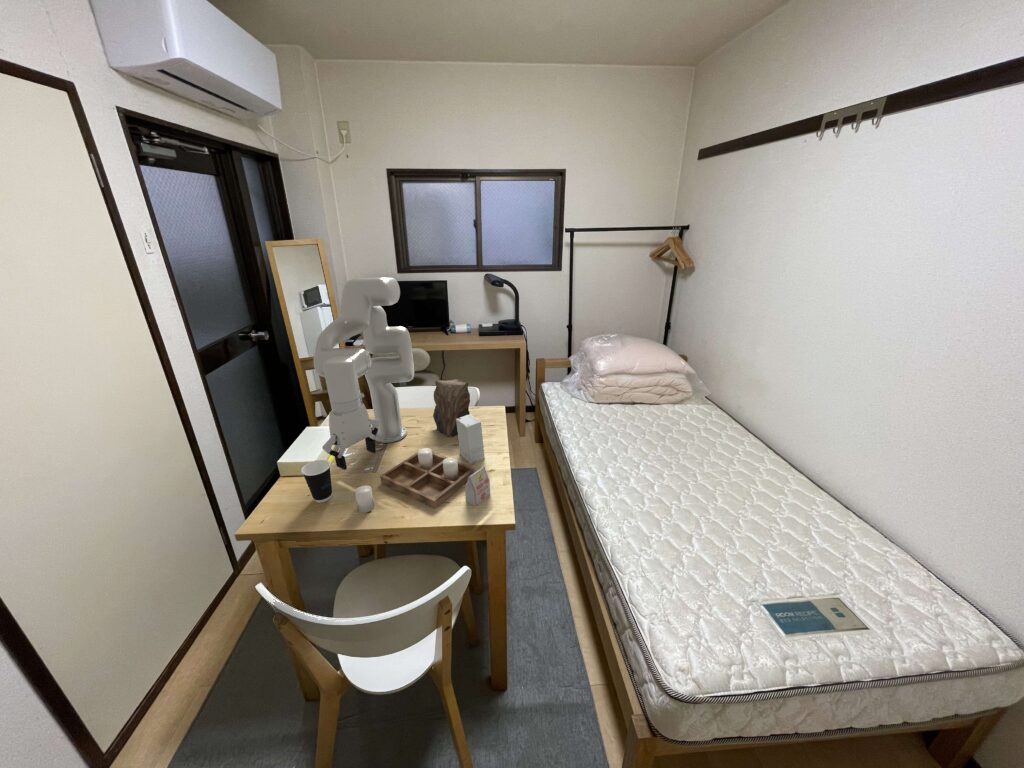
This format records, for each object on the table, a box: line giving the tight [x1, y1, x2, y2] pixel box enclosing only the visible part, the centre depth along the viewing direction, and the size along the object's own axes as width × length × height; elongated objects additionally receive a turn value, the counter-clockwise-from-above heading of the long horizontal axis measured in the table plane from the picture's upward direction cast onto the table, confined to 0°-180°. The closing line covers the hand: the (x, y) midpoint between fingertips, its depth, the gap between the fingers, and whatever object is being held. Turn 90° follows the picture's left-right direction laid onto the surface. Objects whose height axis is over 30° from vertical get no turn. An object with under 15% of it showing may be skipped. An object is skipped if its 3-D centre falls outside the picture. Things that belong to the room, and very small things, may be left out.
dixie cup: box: [300, 459, 333, 503], centre depth 122 cm, size 8×8×11 cm
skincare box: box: [456, 413, 486, 464], centre depth 140 cm, size 8×6×15 cm
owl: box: [432, 378, 471, 438], centre depth 159 cm, size 13×13×20 cm
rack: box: [379, 451, 477, 510], centre depth 130 cm, size 23×19×4 cm
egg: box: [354, 485, 375, 513], centre depth 118 cm, size 5×5×6 cm
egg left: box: [417, 447, 433, 471], centre depth 135 cm, size 5×5×6 cm
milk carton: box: [464, 465, 491, 507], centre depth 120 cm, size 4×7×10 cm, turn 143°
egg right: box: [443, 456, 459, 481], centre depth 130 cm, size 5×5×6 cm
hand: (357, 459), depth 113 cm, fingers open, 9 cm apart
